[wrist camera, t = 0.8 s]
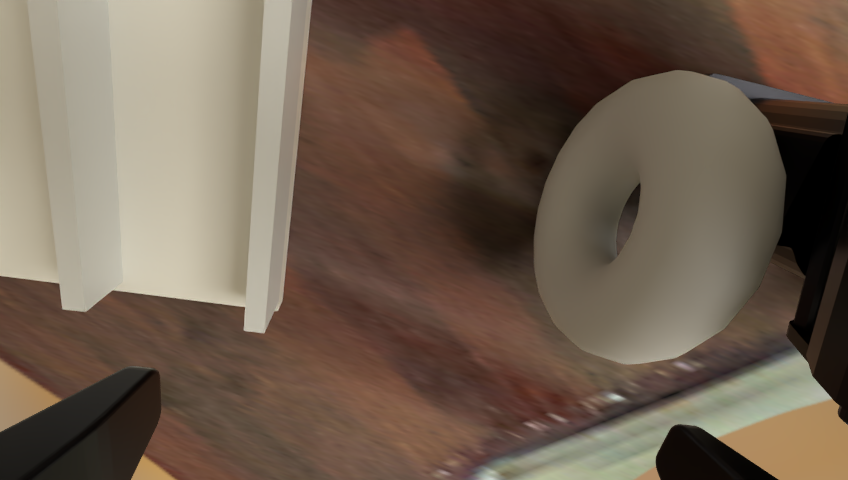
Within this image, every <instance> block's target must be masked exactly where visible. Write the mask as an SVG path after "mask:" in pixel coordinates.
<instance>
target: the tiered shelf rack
mask: <svg viewBox="0 0 848 480" xmlns="http://www.w3.org/2000/svg"><path fill="white" fill-rule="evenodd" d="M311 7H312V0H0V276H6V277H14V278H22V279H29V280H37V281H45V282H53V283H59V284H60V293H61V301H62V309H65V310H73V311H82V312H86V311H87V310H89V309H90V308H91V307H92V306H94V305H95V304H96V303H97V302H99V301H100V300H101V299H102V298H103V297H105V296H106V295H107V294H108V293H110V292H111V291H112V290H116V291H124V292H131V293H139V294H147V295H155V296H163V297H171V298H178V299H186V300H194V301H202V302H210V303H218V304H225V305H233V306H241V307H245V320H244V331H250V332H258V333H265V331H266V328H267V326H268V324H269V322H270V320H271V318H272V315H273V313H274V311H278V310H279V307H280V305H281V303H282V301H283V291H284V281H285V271H286V261H287V251H288V240H289V230H290V220H291V210H292V200H293V190H294V180H295V169H296V159H297V149H298V139H299V129H300V119H301V108H302V98H303V88H304V78H305V68H306V58H307V48H308V37H309V27H310V17H311Z"/></svg>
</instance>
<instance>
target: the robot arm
mask: <svg viewBox="0 0 848 480" xmlns="http://www.w3.org/2000/svg"><path fill="white" fill-rule="evenodd" d="M705 75H706V76H710V77H713V78H717V79H720V80H724V81H727V82H728V83H730V84H732V85H734V86H735V87H737V88H739V89H740V90H741V91H742V92H743V93H744V95H745V96H746V97H747V98H748V99H749V100H750V101H751V102H752V103H753V104H754V105H755V106H756V107H757V108H758V110H759V111H760V112H761V113H762V114H763V115H764V116H765V117H766V118H767V119H768V121H769V123H770V125H771V127H772V129H773V132H774V135H775V138H776V142H777V145H778V149H779V152H780V155H781V159H782V162H783V166H784V169H785V172H786V188H785V200H784V212H783V225H782V233H781V236H780V238H779V240H778V243H777V245H776V248H775V250H774V252H773V255H772V257H771V260H770V262H771V263H773V264H775V265H777V266H779V267H781V268H783V269H785V270H787V271H789V272H791V273H793V274H795V275H797V276H799V277H801V278H803V279H804V283H803V287H802V291H801V295H800V299H799V303H798V306H797V310H796V314H795V318H794V320H792V321H790V322H789V326H788V330H787V334H786V336H787V337H788V339H789V340H790V341H791V342H792V344H793V345H794V346H795V347H796V348H797V350H798V351H799V352H800V353H801V354H802V356H803V357H804V358H805V359H806V361H807V362H808V363H809V366H810V370H811V373H812V376H813V377H814V378H815V379H816V381H817V382H818V383H819V384H820V385H821V386H822V387H823V389H824V390H825V391H826V392H827V393H828V394H829V395H830V396H831V398H832V399H833V400H834V401H835V402H836V403H837V404H839V405H840V407H839V409H838V415H839V417H840V418H841V419H842V420H843V421H844V422H845V423H846V424H847V425H848V104H837V103H831V102H828V101H824V100H820V99H816V98H812V97H808V96H804V95H800V94H796V93H792V92H788V91H784V90H780V89H776V88H772V87H768V86H764V85H760V84H756V83H752V82H748V81H744V80H740V79H736V78H732V77H728V76H724V75H720V74H705ZM160 414H161V389H160V375H159V372H158V371H157V370H156V369H154V368H146V367H137V366H130V367H126V368H124V369H122V370H120V371H118V372H116V373H114V374H112V375H110V376H108V377H106V378H104V379H102V380H100V381H99V382H97V383H95V384H93V385H91V386H89V387H87V388H85V389H83V390H81V391H79V392H77V393H75V394H73V395H71V396H69V397H67V398H66V399H64V400H62V401H60V402H58V403H56V404H54V405H52V406H50V407H48V408H46V409H44V410H42V411H40V412H38V413H36V414H34V415H33V416H31V417H29V418H27V419H25V420H23V421H21V422H19V423H17V424H15V425H13V426H11V427H9V428H7V429H5V430H4V431H2V432H0V480H131V478H132V476H133V474H134V472H135V470H136V468H137V466H138V463H139V461H140V459H141V457H142V455H143V453H144V451H145V449H146V447H147V445H148V443H149V441H150V439H151V437H152V434H153V432H154V430H155V428H156V426H157V424H158V421H159V418H160ZM656 468H657V471H658V474H659V477H660V479H661V480H778V479H777V478H775V477H774V476H772V475H770V474H769V473H768V472H766V471H764V470H763V469H761V468H760V467H759V466H757V465H755V464H754V463H753V462H751V461H750V460H748V459H746V458H745V457H744V456H742V455H740V454H739V453H738V452H736V451H734V450H733V449H732V448H730V447H728V446H727V445H726V444H724V443H723V442H721V441H719V440H718V439H717V438H715V437H714V436H712V435H711V434H709V433H708V432H706V431H705V430H703V429H701V428H699V427H697V426H691V425H682V424H678V425H675V426H673V427H672V428H671V429H670V431H669V433H668V435H667V436H666V438H665V440H664V442H663V444H662V446H661V448H660V450H659V451H658V453H657V456H656Z"/></svg>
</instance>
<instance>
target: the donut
mask: <svg viewBox="0 0 848 480" xmlns="http://www.w3.org/2000/svg"><path fill="white" fill-rule="evenodd" d="M639 183H641V192H640V200H639V209H638V214H637V217H636V220H635V222H634V225H633V228H632V231H631V234H630V237H629V238H628V240H627V242H626V243H625V245H624V247H623V248H622V250H621V252H620V253H619V255H618V256H617V246H616V238H617V230H618V223H619V220H620V217H621V214H622V211H623V208H624V206H625V204H626V202H627V200H628V198H629V197H630V195H631V193H632V191H633V190H634V189H635V188H636V186H637V185H638V184H639ZM785 188H786V172H785V169H784V166H783V162H782V159H781V155H780V152H779V149H778V145H777V142H776V138H775V135H774V132H773V129H772V127H771V125H770V123H769V121H768V119H767V118H766V117H765V116H764V115H763V114H762V113H761V112H760V111H759V110H758V108H757V107H756V106H755V105H754V104H753V103H752V102H751V101H750V100H749V99H748V98H747V97H746V96H745V95H744V93H743V92H742V91H741V90H740V89H739V88H737V87H735V86H734V85H732V84H730V83H728V82H727V81H724V80H720V79H717V78H713V77H710V76H706V75H703V74H699V73H696V72H691V71H682V70H675V71H670V72H665V73H661V74H656V75H652V76H647V77H643V78H639V79H635V80H632V81H630V82H629V83H627V84H626V85H624V86H622V87H621V88H619V89H618V90H616V91H615V92H613V93H612V94H610V95H609V96H607V97H606V98H604V99H603V100H601V101H600V102H598V103H597V104H596V105H595V106H594V107H593V108H592V109H591V110H590V111H589V112H588V113H587V114H586V116H585V117H584V118H583V119H582V120H581V121H580V122H579V123H578V124H577V125H576V127H575V128H574V130H573V131H572V133H571V135H570V136H569V138H568V139H567V141H566V142H565V144H564V146H563V147H562V149H561V150H560V152H559V154H558V156H557V158H556V160H555V162H554V165H553V167H552V169H551V171H550V174H549V176H548V178H547V180H546V183H545V186H544V190H543V193H542V197H541V200H540V204H539V207H538V212H537V219H536V225H535V232H534V270H535V276H536V281H537V286H538V291H539V295H540V297H541V299H542V301H543V303H544V305H545V307H546V309H547V312H548V314H549V316H550V318H551V319H552V321H553V323H554V325H555V326H556V327H557V328H558V329H559V330H560V331H561V332H562V333H563V334H564V335H566V336H567V337H568V338H569V339H570V340H571V341H572V342H573V343H574V344H575V345H576V346H578V347H579V348H580V349H581V350H583V351H585V352H588V353H591V354H594V355H597V356H600V357H603V358H606V359H609V360H612V361H615V362H619V363H622V364H641V363H647V362H654V361H660V360H666V359H673V358H676V357H678V356H680V355H682V354H684V353H686V352H688V351H689V350H691V349H693V348H694V347H696V346H698V345H699V344H701V343H702V342H704V341H706V340H707V339H709V338H710V337H712V336H714V335H715V334H717V333H719V332H720V331H722V330H723V329H725V328H726V327H727V325H728V324H729V323H730V322H731V321H732V319H733V318H734V317H735V316H736V314H737V313H738V312H739V311H740V310H741V308H742V307H743V306H744V305H745V304H746V302H747V301H748V300H749V299H750V298H751V296H752V295H753V294H754V293H755V291H756V290H757V289H758V288H759V286H760V284H761V282H762V279H763V277H764V274H765V272H766V269H767V267H768V265H769V262H770V260H771V257H772V255H773V252H774V250H775V248H776V245H777V243H778V240H779V238H780V236H781V233H782V225H783V212H784V200H785Z"/></svg>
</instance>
